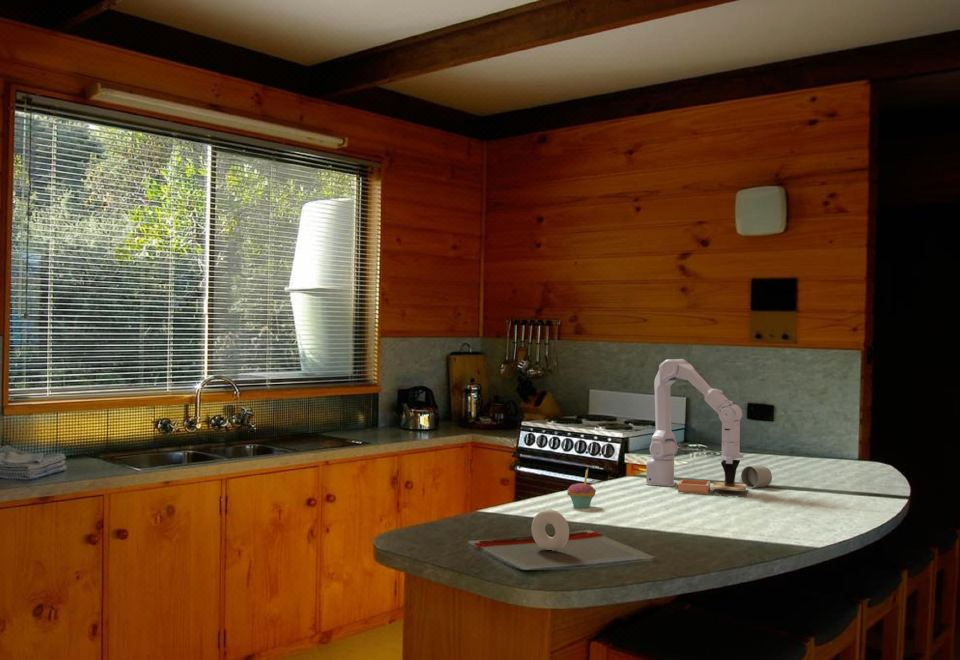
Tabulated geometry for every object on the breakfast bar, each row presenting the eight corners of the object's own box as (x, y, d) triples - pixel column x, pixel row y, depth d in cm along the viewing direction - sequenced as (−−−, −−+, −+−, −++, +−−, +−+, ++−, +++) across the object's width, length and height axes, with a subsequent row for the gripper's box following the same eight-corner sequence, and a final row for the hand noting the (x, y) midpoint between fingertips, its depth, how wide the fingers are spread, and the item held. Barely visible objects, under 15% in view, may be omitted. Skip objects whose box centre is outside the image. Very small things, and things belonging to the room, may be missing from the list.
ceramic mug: (773, 487, 302) (773, 465, 302) (758, 490, 297) (758, 467, 298) (748, 483, 311) (748, 462, 311) (733, 485, 306) (733, 463, 306)
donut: (528, 549, 213) (528, 508, 213) (535, 546, 215) (536, 505, 215) (564, 555, 207) (565, 513, 207) (571, 552, 210) (572, 510, 210)
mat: (711, 495, 287) (711, 494, 287) (714, 488, 299) (714, 487, 299) (746, 497, 283) (746, 496, 283) (748, 491, 295) (748, 489, 295)
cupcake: (598, 505, 268) (599, 466, 268) (590, 510, 260) (590, 470, 260) (572, 503, 271) (572, 464, 271) (562, 508, 264) (563, 467, 264)
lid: (712, 488, 288) (712, 473, 288) (714, 483, 298) (714, 468, 298) (745, 491, 284) (745, 475, 284) (746, 486, 294) (746, 471, 294)
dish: (677, 492, 291) (678, 483, 291) (681, 488, 300) (681, 479, 300) (707, 494, 288) (707, 485, 288) (710, 489, 297) (710, 481, 297)
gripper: (742, 444, 283) (741, 487, 283) (744, 439, 296) (744, 480, 296) (719, 443, 285) (719, 485, 285) (722, 438, 299) (722, 478, 299)
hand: (730, 482), depth 291 cm, fingers closed on lid, 3 cm apart
